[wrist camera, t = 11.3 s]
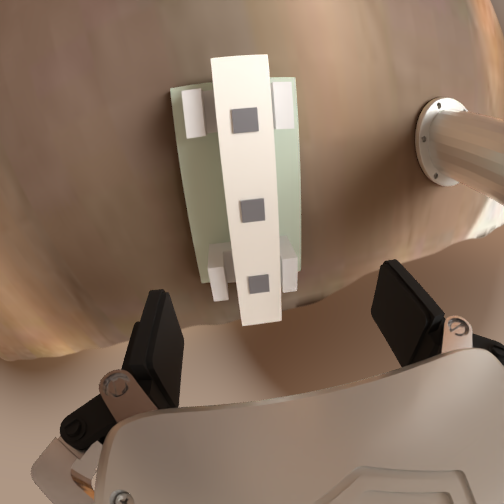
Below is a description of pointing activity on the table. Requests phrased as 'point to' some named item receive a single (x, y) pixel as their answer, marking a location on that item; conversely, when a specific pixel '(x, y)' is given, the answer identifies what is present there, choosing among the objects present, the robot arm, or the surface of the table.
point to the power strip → (250, 182)
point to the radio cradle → (212, 186)
